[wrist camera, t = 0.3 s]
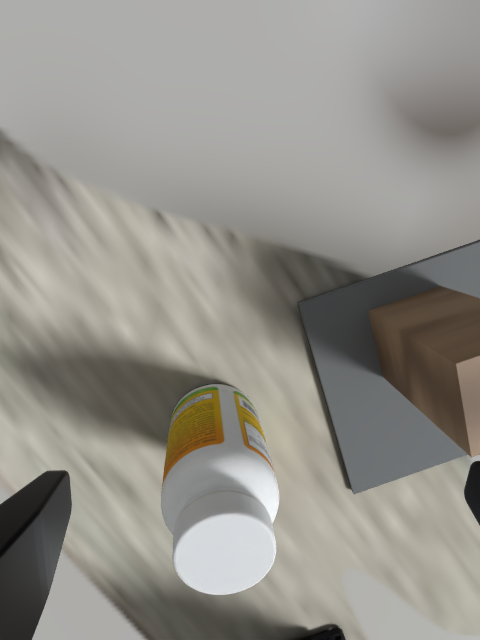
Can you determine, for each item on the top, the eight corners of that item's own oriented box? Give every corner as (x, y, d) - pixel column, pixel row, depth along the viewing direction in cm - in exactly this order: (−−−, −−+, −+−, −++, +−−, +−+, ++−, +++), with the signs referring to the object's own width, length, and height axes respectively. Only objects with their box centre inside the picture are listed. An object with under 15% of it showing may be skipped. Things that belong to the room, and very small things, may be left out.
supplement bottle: (161, 451, 24) (139, 603, 15) (181, 373, 23) (170, 487, 13) (244, 465, 25) (272, 617, 16) (267, 391, 24) (313, 509, 14)
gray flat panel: (516, 432, 27) (520, 435, 26) (351, 490, 26) (353, 494, 26) (492, 235, 22) (497, 235, 22) (297, 302, 22) (299, 304, 22)
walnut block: (451, 353, 24) (572, 422, 16) (383, 377, 24) (471, 457, 16) (440, 285, 22) (565, 325, 15) (367, 310, 22) (456, 363, 15)
